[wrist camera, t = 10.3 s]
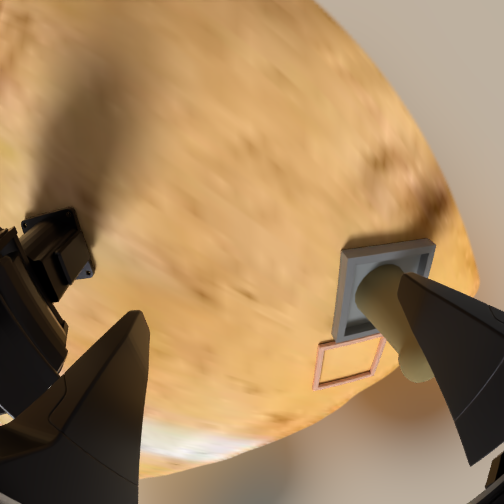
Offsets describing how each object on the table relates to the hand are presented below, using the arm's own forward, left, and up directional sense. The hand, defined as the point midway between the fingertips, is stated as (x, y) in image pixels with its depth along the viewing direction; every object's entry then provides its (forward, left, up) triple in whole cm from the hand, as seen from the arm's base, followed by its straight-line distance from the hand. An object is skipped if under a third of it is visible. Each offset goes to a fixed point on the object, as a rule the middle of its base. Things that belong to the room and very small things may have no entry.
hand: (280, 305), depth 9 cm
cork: (+13, -11, -13) cm, 21 cm away
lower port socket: (+13, -11, -13) cm, 21 cm away
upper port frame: (+11, -22, -13) cm, 28 cm away
